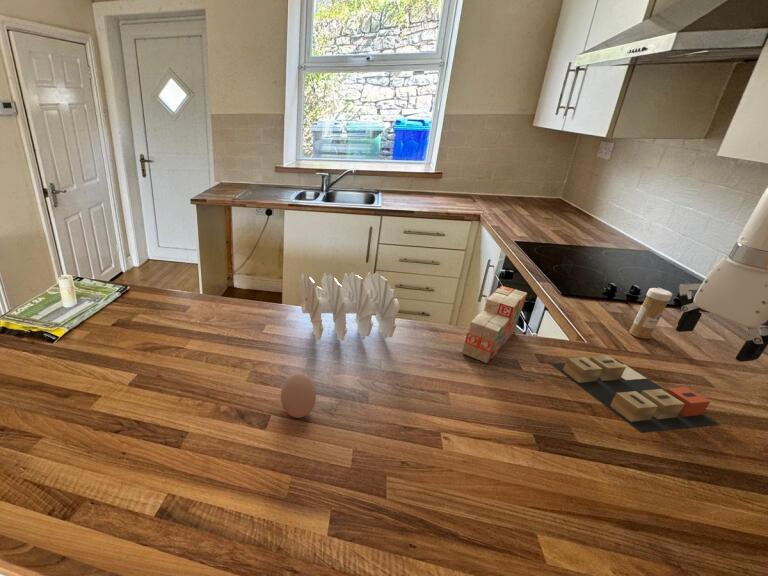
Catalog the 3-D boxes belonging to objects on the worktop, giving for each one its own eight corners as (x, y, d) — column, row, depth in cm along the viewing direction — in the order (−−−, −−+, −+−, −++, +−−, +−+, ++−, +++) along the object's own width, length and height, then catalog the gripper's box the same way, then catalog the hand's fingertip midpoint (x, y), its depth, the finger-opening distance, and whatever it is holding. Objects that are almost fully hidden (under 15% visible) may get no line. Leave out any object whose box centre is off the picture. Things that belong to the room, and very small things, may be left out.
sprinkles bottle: (647, 341, 107) (670, 296, 101) (625, 333, 110) (647, 289, 104) (652, 336, 109) (675, 291, 103) (631, 328, 112) (652, 285, 107)
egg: (291, 398, 84) (293, 359, 80) (319, 411, 81) (324, 372, 77) (273, 416, 79) (275, 377, 75) (303, 432, 76) (307, 391, 72)
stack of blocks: (487, 364, 96) (502, 320, 91) (460, 353, 100) (473, 310, 95) (514, 332, 110) (528, 292, 104) (489, 323, 114) (502, 284, 108)
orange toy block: (678, 399, 85) (686, 386, 83) (702, 415, 81) (711, 401, 79) (659, 401, 84) (667, 387, 83) (683, 416, 80) (691, 402, 79)
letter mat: (615, 360, 98) (616, 358, 98) (719, 426, 79) (721, 424, 78) (549, 365, 96) (550, 363, 96) (639, 435, 76) (641, 432, 76)
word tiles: (602, 367, 95) (608, 354, 93) (676, 417, 80) (685, 403, 78) (562, 370, 93) (567, 357, 92) (630, 421, 79) (638, 407, 77)
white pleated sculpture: (392, 353, 107) (301, 354, 104) (376, 300, 118) (292, 299, 115) (421, 313, 93) (316, 312, 90) (399, 258, 104) (305, 255, 101)
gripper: (859, 278, 59) (791, 372, 67) (721, 240, 75) (679, 320, 82) (817, 280, 58) (753, 375, 66) (687, 241, 74) (647, 322, 81)
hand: (712, 344), depth 74 cm, fingers open, 9 cm apart
